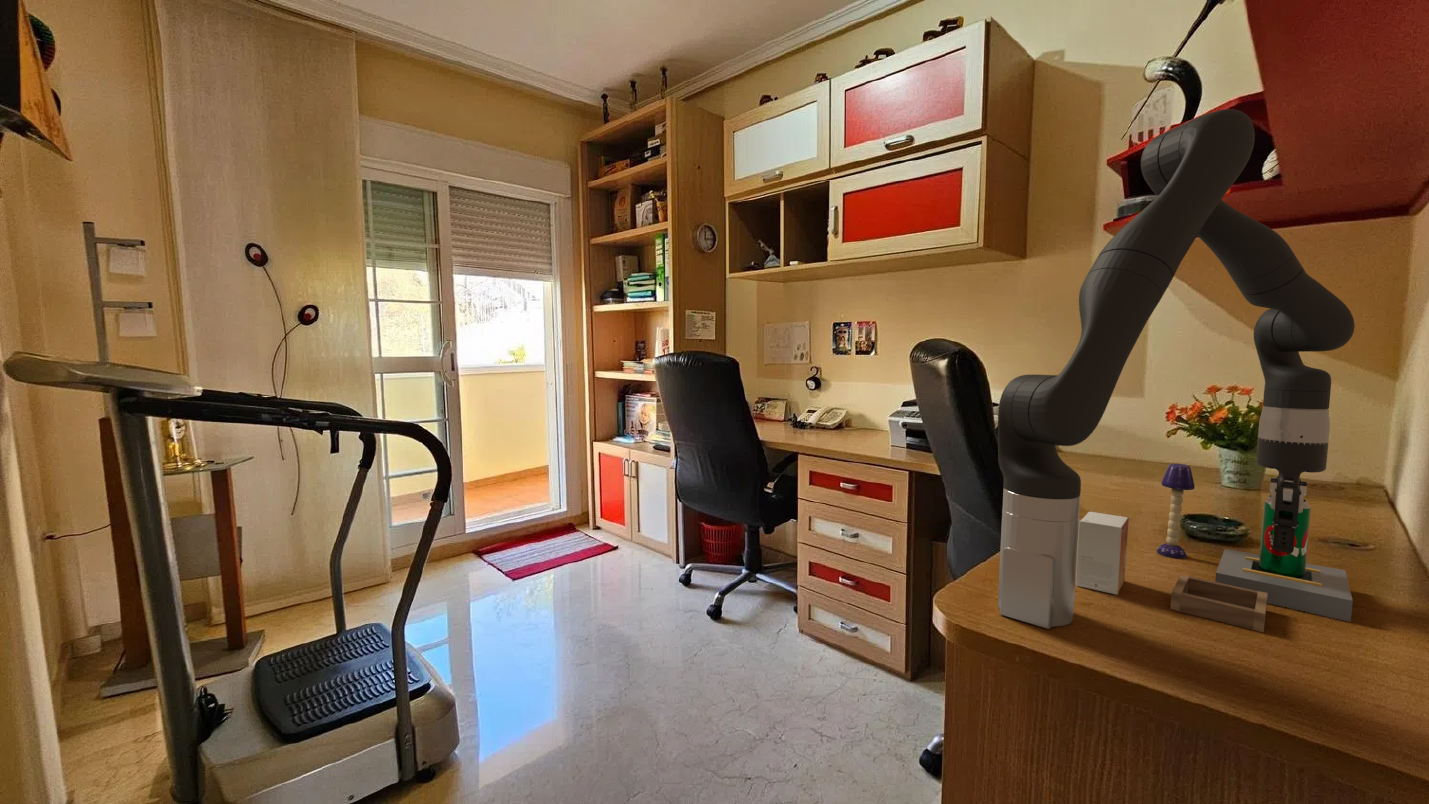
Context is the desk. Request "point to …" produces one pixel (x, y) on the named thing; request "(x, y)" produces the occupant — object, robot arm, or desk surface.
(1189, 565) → the desk surface
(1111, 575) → the small box
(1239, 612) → the wooden square frame
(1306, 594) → the socket
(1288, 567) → the soda can
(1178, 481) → the toy lamp
